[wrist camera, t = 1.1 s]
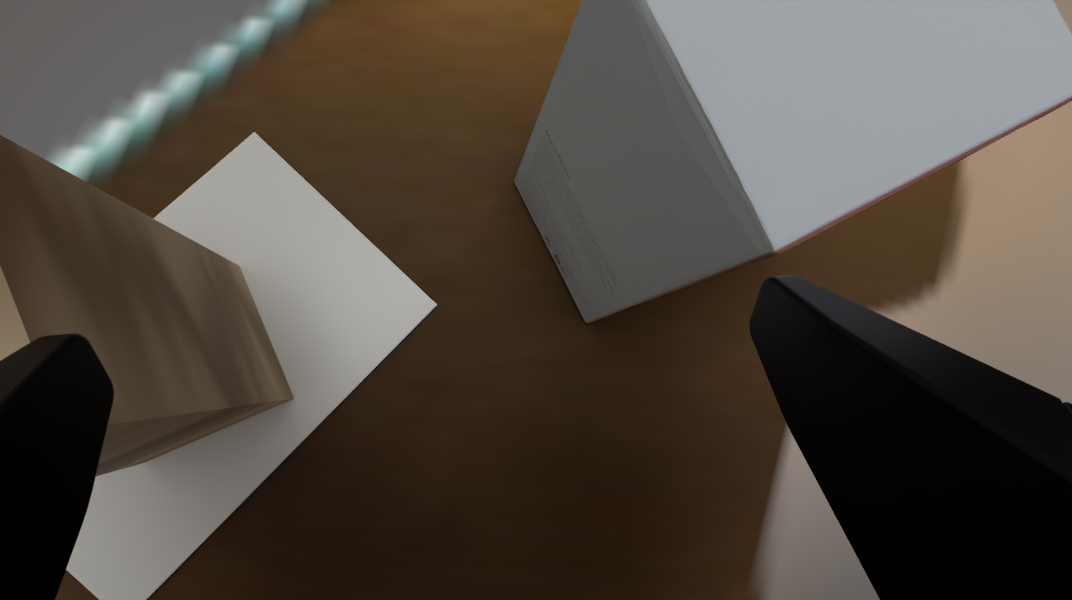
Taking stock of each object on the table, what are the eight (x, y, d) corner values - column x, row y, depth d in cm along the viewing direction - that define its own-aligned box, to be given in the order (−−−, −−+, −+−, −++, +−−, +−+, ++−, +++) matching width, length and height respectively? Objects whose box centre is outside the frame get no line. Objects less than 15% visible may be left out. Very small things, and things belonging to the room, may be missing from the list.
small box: (584, 327, 22) (771, 262, 10) (509, 180, 23) (594, -74, 10) (756, 239, 24) (1115, 81, 11) (684, 102, 24) (952, -204, 11)
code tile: (127, 619, 19) (123, 622, 19) (-85, 426, 19) (-90, 427, 18) (437, 305, 22) (436, 304, 21) (256, 134, 21) (254, 131, 21)
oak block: (294, 398, 20) (64, 431, 8) (144, 462, 19) (-380, 612, 7) (239, 265, 20) (-64, 100, 8) (88, 322, 20) (-507, 231, 7)
